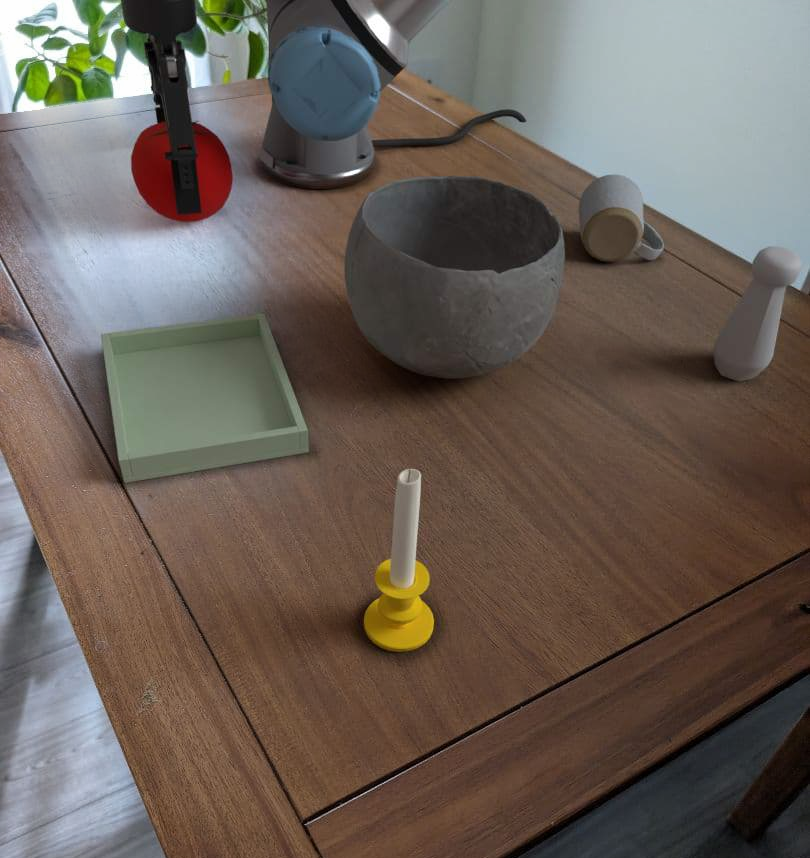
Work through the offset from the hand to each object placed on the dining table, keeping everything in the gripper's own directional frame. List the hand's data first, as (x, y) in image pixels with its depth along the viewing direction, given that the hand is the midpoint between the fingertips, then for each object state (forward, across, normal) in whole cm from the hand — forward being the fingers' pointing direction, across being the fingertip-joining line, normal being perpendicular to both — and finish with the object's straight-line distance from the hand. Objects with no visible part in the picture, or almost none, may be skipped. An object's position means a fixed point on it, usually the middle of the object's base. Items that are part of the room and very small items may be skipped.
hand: (181, 186), depth 104 cm
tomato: (+3, 0, 0) cm, 3 cm away
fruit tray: (+3, +38, -4) cm, 38 cm away
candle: (+3, +68, +6) cm, 68 cm away
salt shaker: (+2, +46, +50) cm, 68 cm away
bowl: (+3, +36, +21) cm, 42 cm away
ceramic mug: (+3, +20, +49) cm, 53 cm away
